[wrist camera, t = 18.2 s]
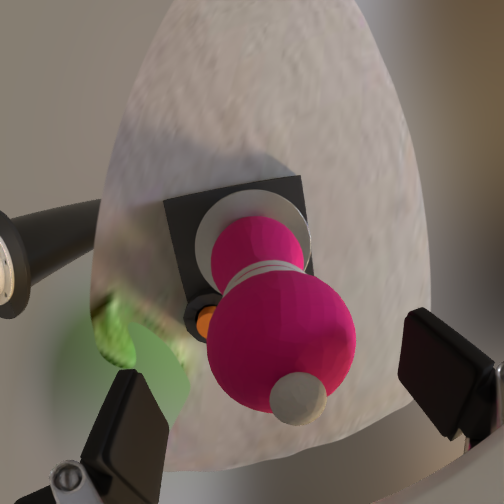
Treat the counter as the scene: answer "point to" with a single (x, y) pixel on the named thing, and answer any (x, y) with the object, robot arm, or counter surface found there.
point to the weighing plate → (244, 206)
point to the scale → (185, 229)
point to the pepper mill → (275, 324)
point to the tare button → (204, 320)
